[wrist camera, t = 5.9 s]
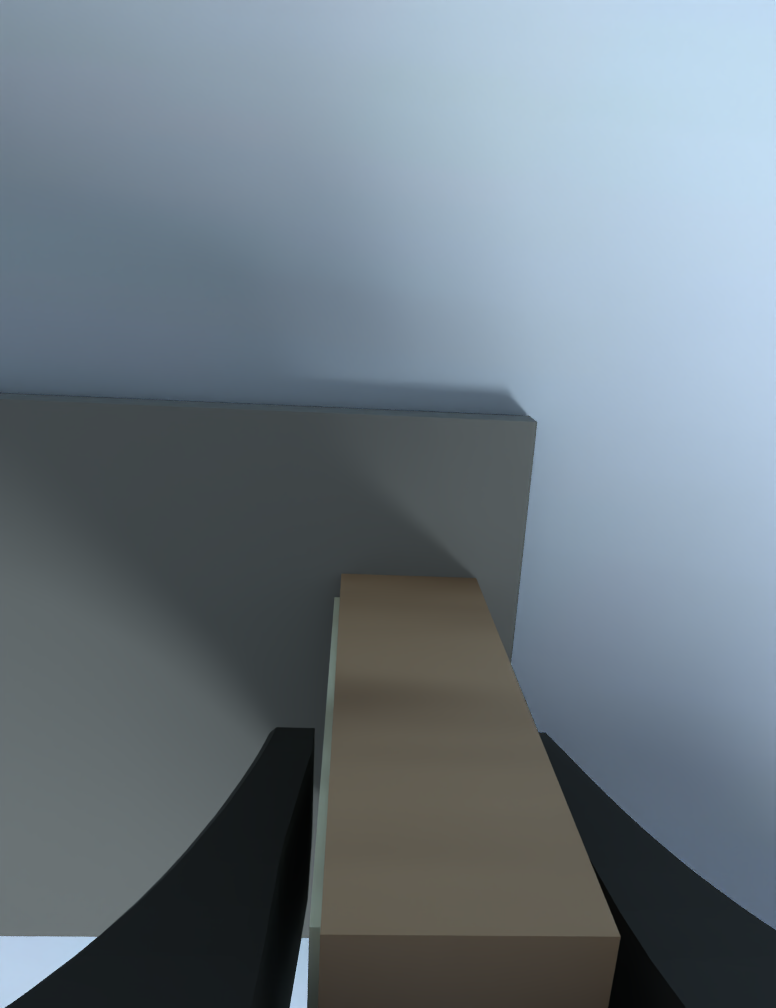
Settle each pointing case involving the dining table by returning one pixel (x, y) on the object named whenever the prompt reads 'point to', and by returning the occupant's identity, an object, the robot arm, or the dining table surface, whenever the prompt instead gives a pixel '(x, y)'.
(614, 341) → the dining table surface
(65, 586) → the mat
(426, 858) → the slab
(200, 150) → the dining table surface
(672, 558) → the dining table surface
